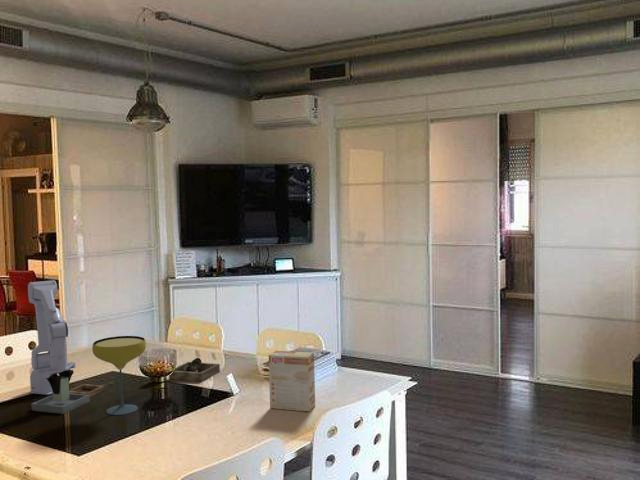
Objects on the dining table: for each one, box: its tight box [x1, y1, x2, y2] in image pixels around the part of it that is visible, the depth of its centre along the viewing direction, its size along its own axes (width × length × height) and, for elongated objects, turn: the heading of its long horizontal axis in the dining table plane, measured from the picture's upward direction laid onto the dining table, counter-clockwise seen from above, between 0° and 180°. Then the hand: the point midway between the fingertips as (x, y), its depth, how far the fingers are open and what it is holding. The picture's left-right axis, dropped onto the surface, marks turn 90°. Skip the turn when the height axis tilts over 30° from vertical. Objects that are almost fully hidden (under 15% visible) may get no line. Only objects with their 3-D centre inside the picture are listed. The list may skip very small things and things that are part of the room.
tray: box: [30, 393, 91, 415], centre depth 232 cm, size 14×14×2 cm
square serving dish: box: [168, 361, 221, 383], centre depth 268 cm, size 15×15×4 cm
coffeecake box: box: [268, 350, 316, 413], centre depth 225 cm, size 15×7×20 cm, turn 71°
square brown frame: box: [69, 383, 107, 398], centre depth 248 cm, size 10×10×2 cm
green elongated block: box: [52, 377, 70, 402], centre depth 232 cm, size 4×4×8 cm
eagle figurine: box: [184, 357, 203, 373], centre depth 271 cm, size 8×7×9 cm
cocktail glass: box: [92, 335, 147, 416], centre depth 225 cm, size 18×18×25 cm
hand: (60, 392), depth 232 cm, fingers closed on green elongated block, 4 cm apart
